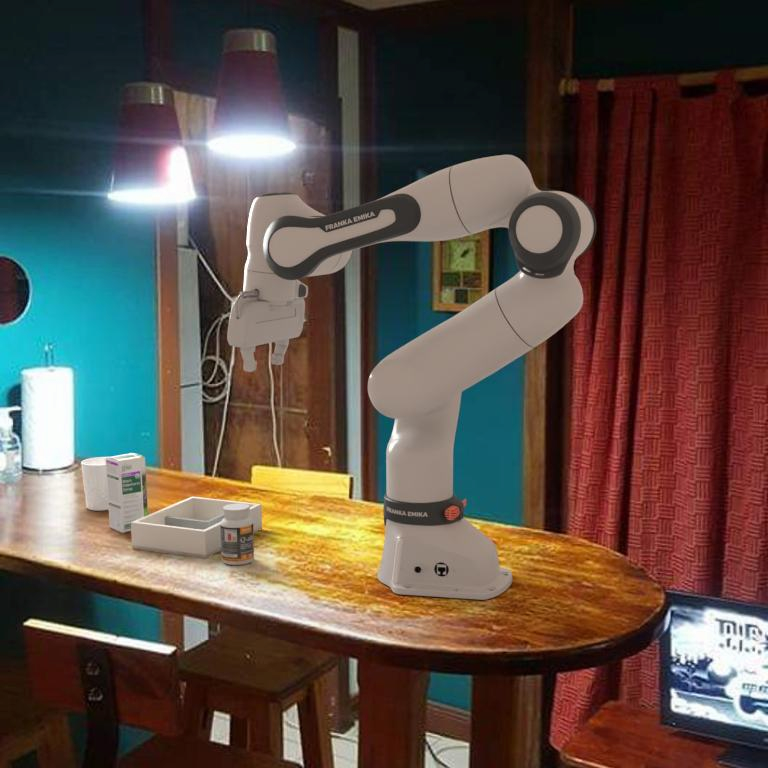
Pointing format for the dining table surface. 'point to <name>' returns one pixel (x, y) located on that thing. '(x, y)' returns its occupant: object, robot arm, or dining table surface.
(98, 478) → the white cup
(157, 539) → the box
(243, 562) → the pill bottle
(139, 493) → the syrup box
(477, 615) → the dining table surface
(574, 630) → the dining table surface
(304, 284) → the robot arm
